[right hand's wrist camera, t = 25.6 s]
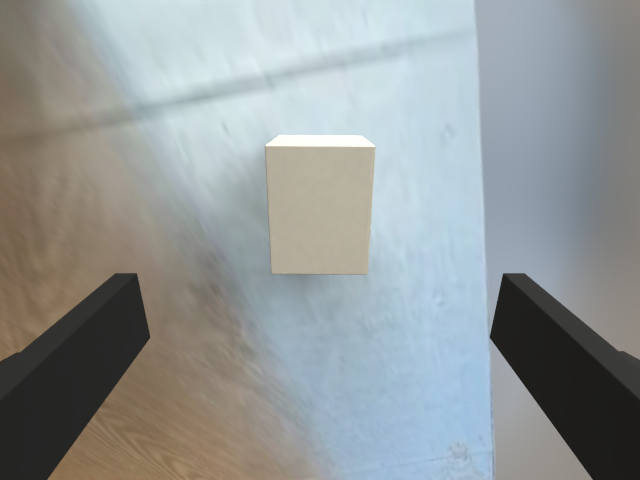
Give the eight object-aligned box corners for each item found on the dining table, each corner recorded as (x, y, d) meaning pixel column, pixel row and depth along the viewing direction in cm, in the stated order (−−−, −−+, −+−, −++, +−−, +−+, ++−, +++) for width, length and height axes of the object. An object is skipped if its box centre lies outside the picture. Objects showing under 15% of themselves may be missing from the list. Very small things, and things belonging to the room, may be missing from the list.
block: (278, 134, 29) (264, 145, 22) (361, 135, 29) (375, 146, 22) (282, 235, 32) (271, 274, 25) (357, 236, 32) (367, 274, 25)
